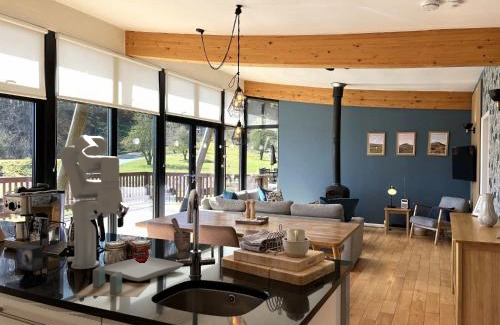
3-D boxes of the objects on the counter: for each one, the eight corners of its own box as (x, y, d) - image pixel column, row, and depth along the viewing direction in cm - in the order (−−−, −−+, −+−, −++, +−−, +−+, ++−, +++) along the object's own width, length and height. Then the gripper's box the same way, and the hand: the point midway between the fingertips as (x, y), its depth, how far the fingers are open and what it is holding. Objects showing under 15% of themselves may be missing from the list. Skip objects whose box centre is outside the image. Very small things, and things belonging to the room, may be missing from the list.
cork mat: (75, 296, 156) (75, 295, 156) (93, 283, 172) (93, 282, 172) (137, 298, 154) (137, 296, 154) (150, 284, 170) (150, 283, 170)
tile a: (92, 287, 165) (92, 270, 164) (99, 283, 171) (99, 266, 170) (98, 288, 164) (98, 270, 164) (105, 283, 170) (104, 266, 170)
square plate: (185, 271, 190) (185, 262, 190) (138, 286, 167) (137, 277, 167) (144, 262, 205) (144, 254, 205) (96, 275, 183) (96, 267, 182)
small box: (15, 269, 194) (15, 246, 194) (27, 265, 200) (27, 244, 200) (32, 271, 190) (31, 248, 190) (43, 268, 196) (43, 245, 196)
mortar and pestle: (165, 258, 214) (165, 219, 214) (173, 254, 222) (173, 217, 222) (186, 259, 211) (186, 220, 210) (193, 255, 219) (193, 218, 219)
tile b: (110, 294, 156) (109, 276, 156) (116, 289, 162) (116, 271, 162) (116, 294, 156) (116, 276, 156) (122, 289, 162) (122, 271, 162)
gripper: (86, 186, 174) (87, 227, 174) (122, 186, 168) (122, 229, 169) (98, 184, 181) (98, 224, 181) (133, 185, 176) (133, 226, 176)
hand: (110, 226), depth 175 cm, fingers open, 9 cm apart
